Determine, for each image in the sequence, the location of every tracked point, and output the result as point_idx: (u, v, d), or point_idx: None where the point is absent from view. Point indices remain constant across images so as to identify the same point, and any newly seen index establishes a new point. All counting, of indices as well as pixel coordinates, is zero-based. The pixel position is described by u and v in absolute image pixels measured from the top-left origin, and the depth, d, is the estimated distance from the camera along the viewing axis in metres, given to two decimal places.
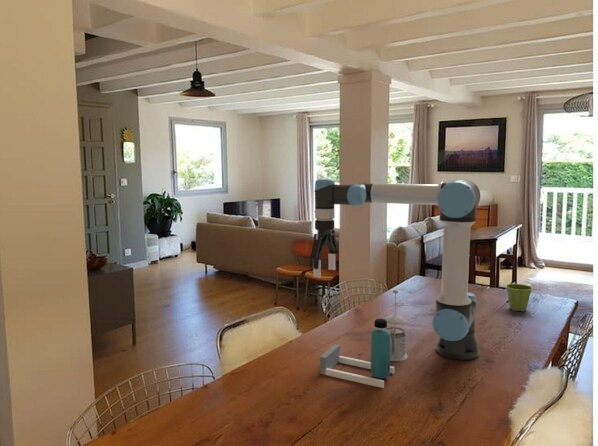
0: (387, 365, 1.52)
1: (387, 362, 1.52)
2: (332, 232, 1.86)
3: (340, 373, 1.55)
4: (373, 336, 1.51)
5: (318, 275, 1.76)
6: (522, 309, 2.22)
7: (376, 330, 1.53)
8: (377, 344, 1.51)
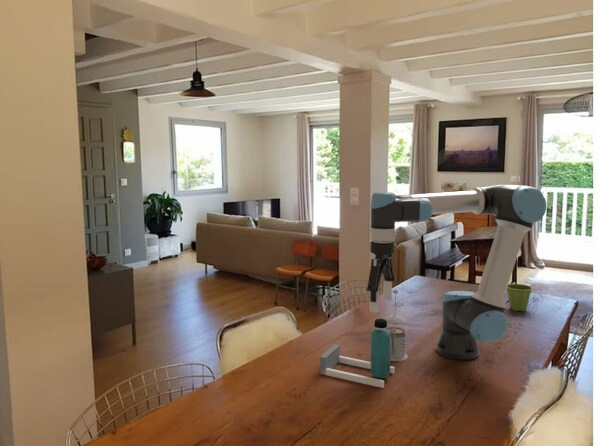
0: (387, 365, 1.52)
1: (387, 362, 1.52)
2: (389, 256, 1.54)
3: (340, 373, 1.55)
4: (373, 336, 1.51)
5: (376, 309, 1.45)
6: (522, 309, 2.22)
7: (376, 330, 1.53)
8: (377, 344, 1.51)
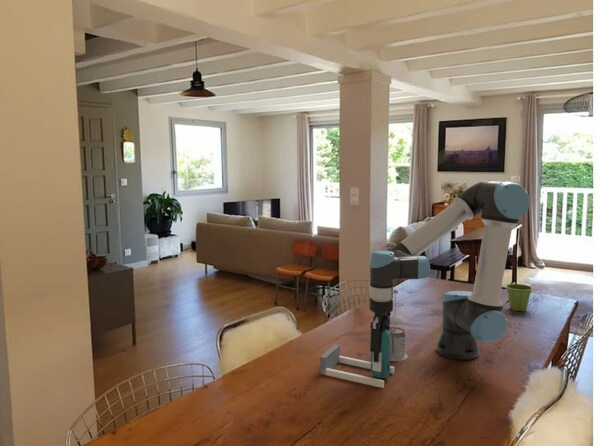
0: (387, 365, 1.52)
1: (387, 362, 1.52)
2: (388, 314, 1.57)
3: (340, 373, 1.55)
4: None
5: (378, 369, 1.51)
6: (522, 309, 2.22)
7: None
8: None
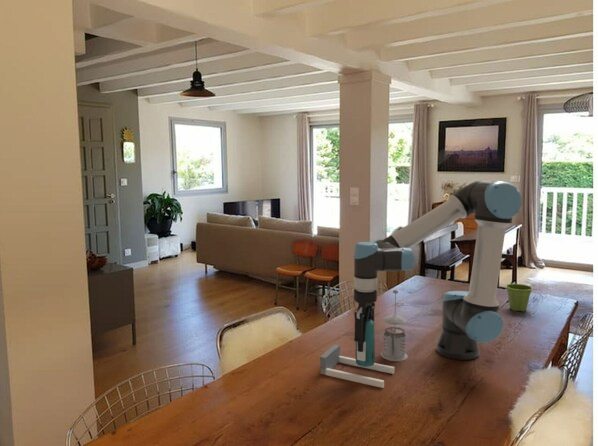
0: (371, 354, 1.54)
1: (371, 351, 1.54)
2: (372, 305, 1.59)
3: (340, 373, 1.55)
4: None
5: (363, 358, 1.53)
6: (522, 309, 2.22)
7: None
8: None
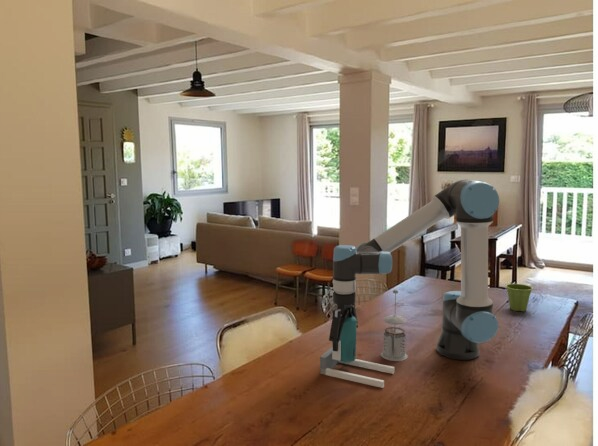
0: (353, 350, 1.60)
1: (353, 347, 1.60)
2: (352, 304, 1.63)
3: (340, 373, 1.55)
4: None
5: (338, 358, 1.54)
6: (522, 309, 2.22)
7: None
8: (344, 328, 1.59)
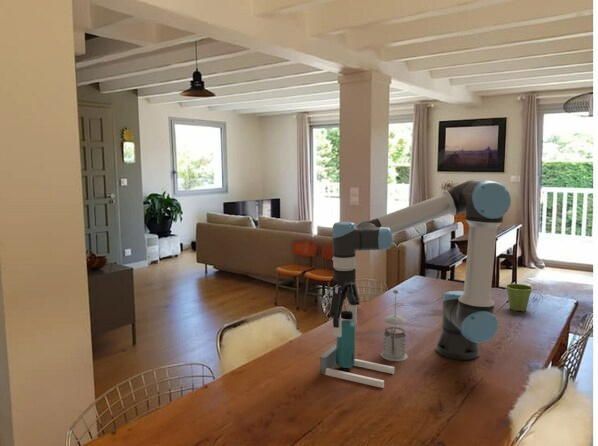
0: (351, 355, 1.59)
1: (351, 352, 1.59)
2: (352, 281, 1.62)
3: (340, 373, 1.55)
4: None
5: (339, 334, 1.52)
6: (522, 309, 2.22)
7: (342, 321, 1.60)
8: (342, 334, 1.58)
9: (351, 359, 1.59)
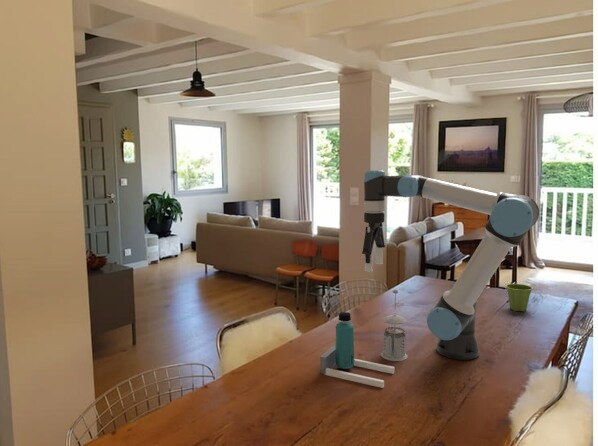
0: (350, 356, 1.59)
1: (350, 353, 1.59)
2: (380, 225, 1.80)
3: (340, 373, 1.55)
4: (337, 329, 1.58)
5: (370, 269, 1.70)
6: (522, 309, 2.22)
7: (340, 323, 1.59)
8: (341, 336, 1.58)
9: (351, 360, 1.59)
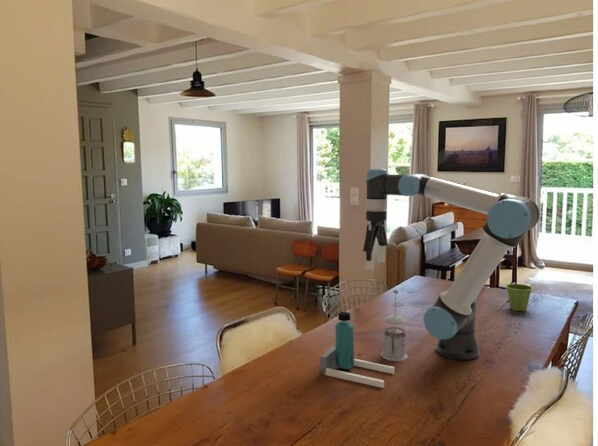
0: (350, 356, 1.59)
1: (350, 353, 1.59)
2: (382, 223, 1.81)
3: (340, 373, 1.55)
4: (337, 328, 1.59)
5: (371, 267, 1.72)
6: (522, 309, 2.22)
7: (340, 323, 1.60)
8: (340, 336, 1.58)
9: (350, 360, 1.59)
